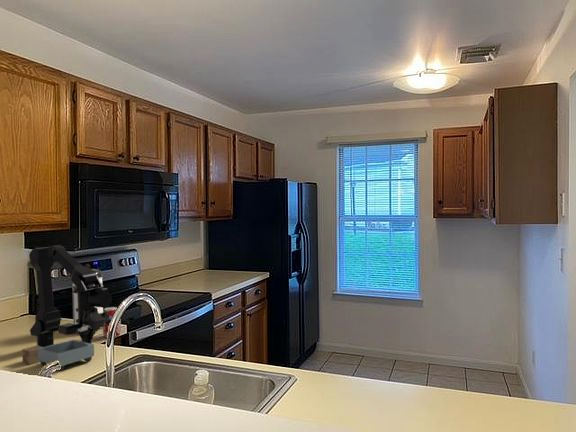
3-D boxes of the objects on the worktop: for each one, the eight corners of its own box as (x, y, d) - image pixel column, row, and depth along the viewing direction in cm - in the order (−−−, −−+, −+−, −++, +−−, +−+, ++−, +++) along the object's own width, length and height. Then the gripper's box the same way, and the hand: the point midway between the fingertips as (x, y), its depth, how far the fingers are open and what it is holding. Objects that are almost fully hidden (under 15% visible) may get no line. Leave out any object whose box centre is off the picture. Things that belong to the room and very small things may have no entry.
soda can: (114, 339, 186) (114, 310, 185) (99, 338, 187) (98, 310, 187) (124, 334, 192) (123, 306, 192) (109, 333, 194) (108, 306, 194)
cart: (38, 365, 155) (37, 348, 155) (73, 354, 166) (73, 339, 166) (58, 372, 148) (57, 355, 148) (94, 360, 159) (93, 344, 159)
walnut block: (22, 362, 159) (22, 348, 159) (36, 358, 163) (36, 345, 163) (29, 365, 156) (29, 351, 156) (44, 361, 160) (43, 347, 160)
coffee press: (113, 331, 198) (111, 263, 197) (73, 337, 189) (71, 267, 188) (104, 323, 212) (102, 260, 212) (67, 328, 203) (65, 263, 203)
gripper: (74, 313, 151) (76, 358, 152) (122, 302, 167) (123, 344, 167) (56, 309, 157) (58, 353, 158) (104, 299, 173) (105, 339, 173)
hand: (87, 347), depth 164 cm, fingers closed
